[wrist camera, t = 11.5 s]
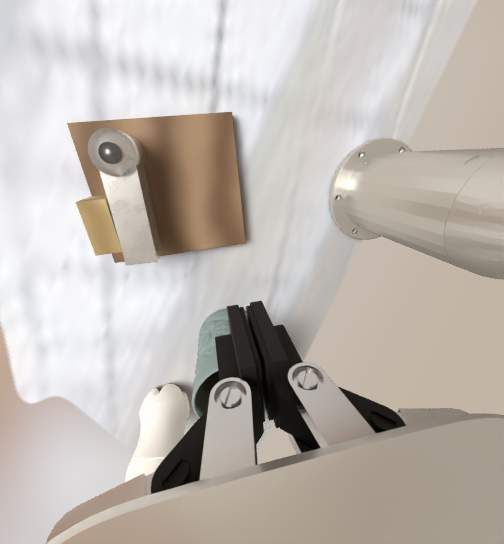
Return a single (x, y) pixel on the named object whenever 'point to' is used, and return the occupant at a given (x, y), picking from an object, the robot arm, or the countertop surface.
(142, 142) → the lock base
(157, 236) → the latch bar
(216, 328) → the green plant pot
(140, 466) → the water bottle
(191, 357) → the countertop surface
